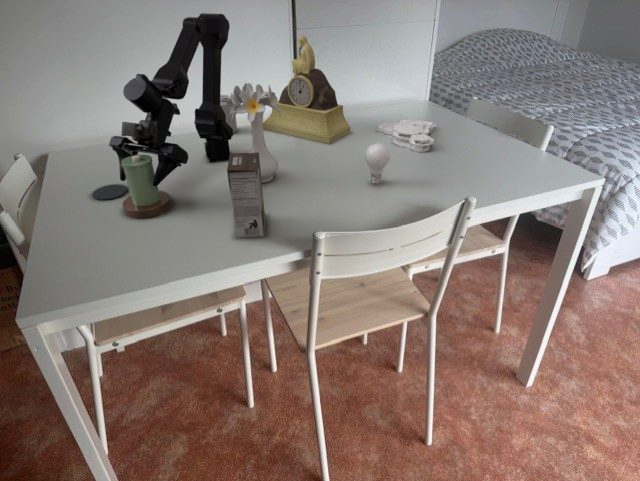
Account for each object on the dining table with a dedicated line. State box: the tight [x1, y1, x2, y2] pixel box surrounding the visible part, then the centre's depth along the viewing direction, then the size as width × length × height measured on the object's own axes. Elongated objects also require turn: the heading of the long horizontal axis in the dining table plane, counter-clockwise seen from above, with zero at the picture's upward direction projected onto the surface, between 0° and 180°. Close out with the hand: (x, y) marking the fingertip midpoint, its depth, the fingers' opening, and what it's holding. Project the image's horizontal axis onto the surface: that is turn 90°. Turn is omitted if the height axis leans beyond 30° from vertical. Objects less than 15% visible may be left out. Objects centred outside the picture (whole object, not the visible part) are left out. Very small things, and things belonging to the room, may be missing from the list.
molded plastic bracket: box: [375, 119, 437, 153], centre depth 149 cm, size 23×25×4 cm
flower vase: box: [227, 82, 282, 184], centre depth 117 cm, size 13×18×25 cm
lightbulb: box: [364, 142, 391, 185], centre depth 117 cm, size 6×6×11 cm
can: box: [220, 94, 238, 134], centre depth 153 cm, size 8×8×12 cm
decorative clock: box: [263, 34, 351, 145], centre depth 148 cm, size 28×13×30 cm, turn 55°
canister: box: [121, 154, 160, 206], centre depth 106 cm, size 7×7×11 cm
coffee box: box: [226, 152, 266, 239], centre depth 97 cm, size 9×6×16 cm
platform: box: [122, 189, 172, 219], centre depth 110 cm, size 11×11×2 cm
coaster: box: [92, 184, 128, 201], centre depth 117 cm, size 8×8×1 cm
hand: (138, 183), depth 105 cm, fingers open, 9 cm apart
